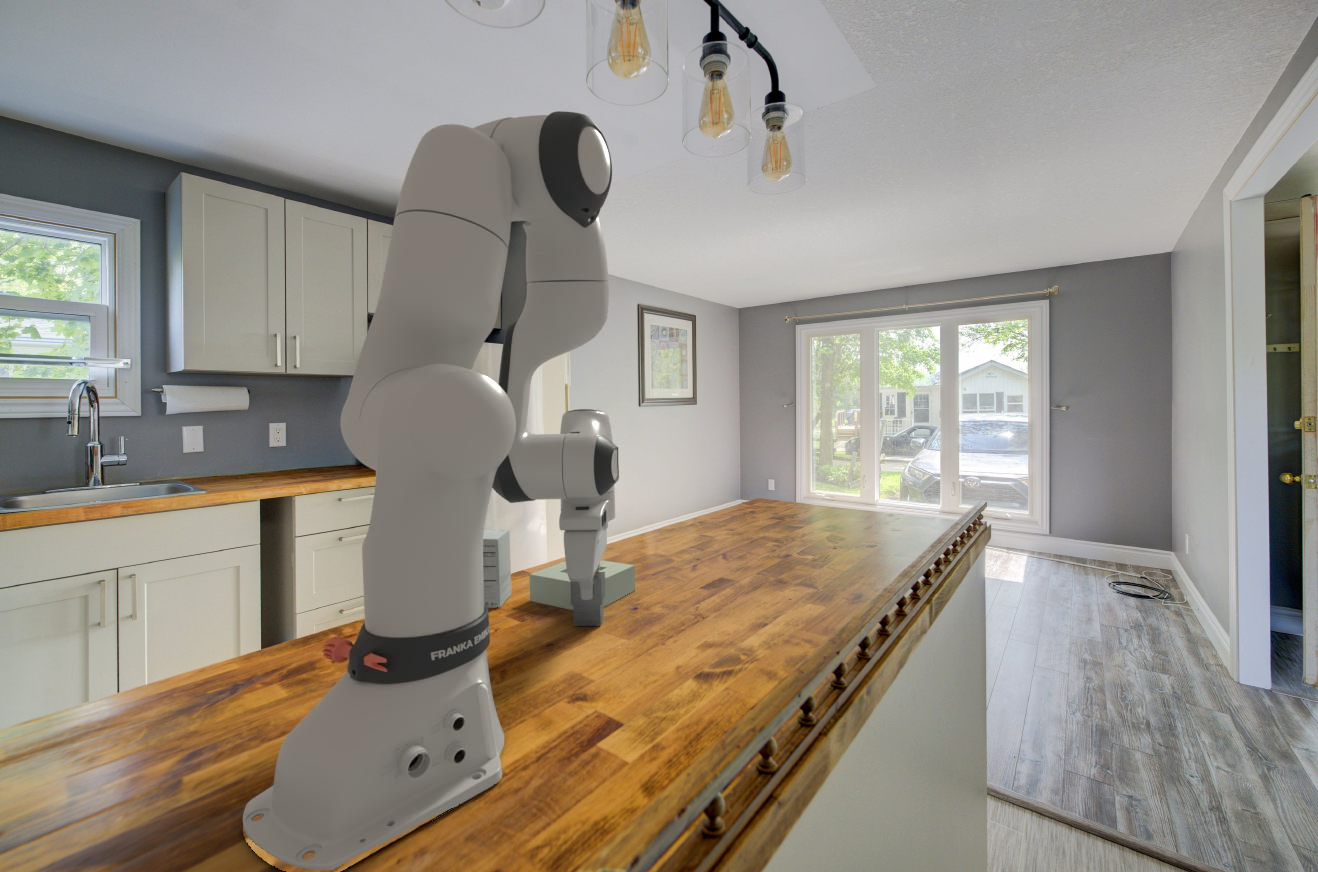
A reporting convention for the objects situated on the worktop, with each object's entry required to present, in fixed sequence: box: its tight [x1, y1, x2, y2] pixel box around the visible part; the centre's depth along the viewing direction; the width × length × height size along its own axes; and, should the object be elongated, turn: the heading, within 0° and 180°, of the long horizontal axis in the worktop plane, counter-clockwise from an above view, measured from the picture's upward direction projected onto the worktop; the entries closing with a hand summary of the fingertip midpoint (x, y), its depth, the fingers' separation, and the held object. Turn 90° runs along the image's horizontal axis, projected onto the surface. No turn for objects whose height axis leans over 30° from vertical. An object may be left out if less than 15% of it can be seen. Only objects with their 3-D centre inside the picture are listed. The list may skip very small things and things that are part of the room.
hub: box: [528, 559, 636, 611], centre depth 104 cm, size 14×14×5 cm
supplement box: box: [483, 529, 512, 609], centre depth 102 cm, size 7×7×13 cm
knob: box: [570, 572, 605, 627], centre depth 91 cm, size 5×5×8 cm
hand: (590, 590), depth 92 cm, fingers open, 5 cm apart
